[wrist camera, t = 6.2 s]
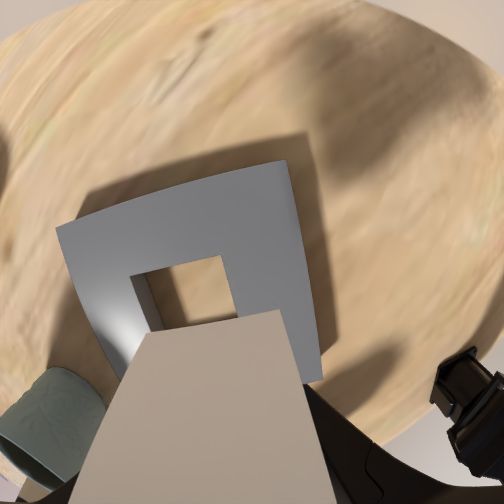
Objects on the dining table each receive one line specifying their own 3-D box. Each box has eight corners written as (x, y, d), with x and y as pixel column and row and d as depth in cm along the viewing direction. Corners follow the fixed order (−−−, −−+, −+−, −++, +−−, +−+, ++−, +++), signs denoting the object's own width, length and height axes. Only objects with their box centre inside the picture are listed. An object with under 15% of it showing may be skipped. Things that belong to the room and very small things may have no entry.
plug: (279, 309, 8) (348, 546, 2) (297, 412, 10) (335, 565, 3) (146, 332, 8) (60, 525, 2) (193, 427, 10) (177, 573, 3)
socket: (279, 162, 17) (285, 159, 15) (316, 360, 21) (323, 379, 19) (73, 222, 18) (55, 227, 15) (142, 388, 22) (135, 406, 19)
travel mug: (78, 466, 27) (49, 539, 10) (78, 478, 29) (54, 541, 12) (40, 443, 26) (4, 509, 9) (44, 458, 28) (15, 517, 10)
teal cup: (40, 393, 23) (-3, 453, 11) (41, 342, 21) (-23, 411, 9) (106, 435, 24) (77, 507, 13) (122, 394, 22) (81, 488, 10)
